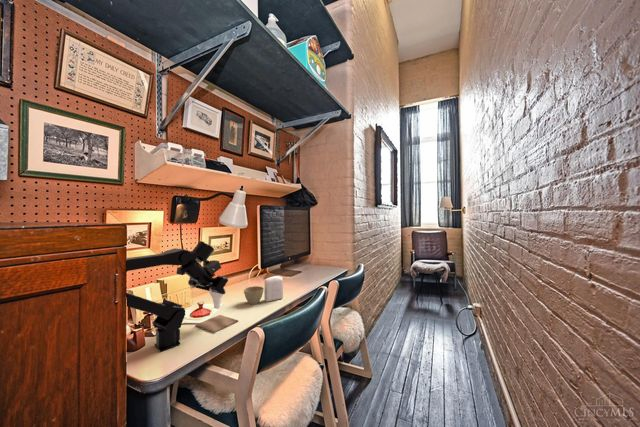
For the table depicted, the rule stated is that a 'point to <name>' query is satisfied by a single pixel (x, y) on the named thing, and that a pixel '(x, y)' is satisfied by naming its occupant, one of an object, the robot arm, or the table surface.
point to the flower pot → (253, 294)
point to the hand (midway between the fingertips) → (219, 292)
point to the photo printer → (273, 288)
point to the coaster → (216, 323)
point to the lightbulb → (216, 298)
